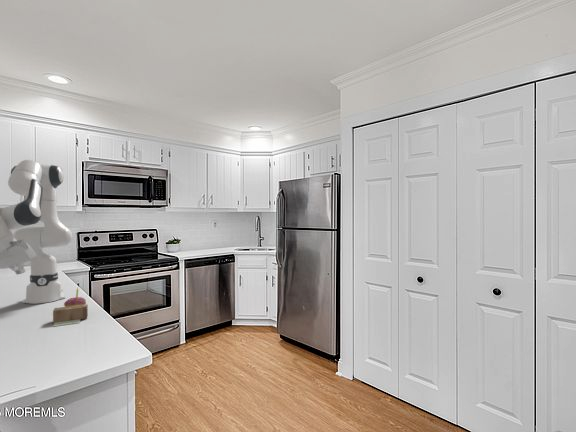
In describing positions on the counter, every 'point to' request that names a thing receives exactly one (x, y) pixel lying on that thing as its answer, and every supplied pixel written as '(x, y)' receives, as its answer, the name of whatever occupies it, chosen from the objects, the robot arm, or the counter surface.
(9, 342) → the counter surface
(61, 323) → the mat
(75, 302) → the cupcake
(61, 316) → the block
